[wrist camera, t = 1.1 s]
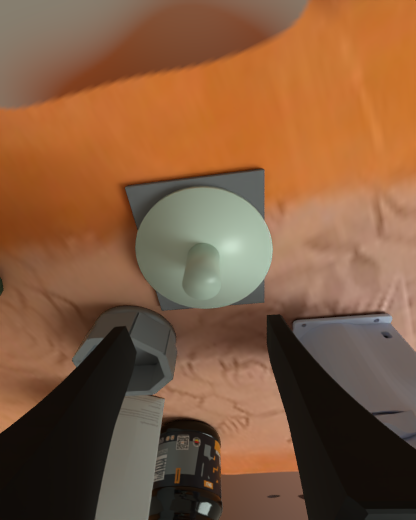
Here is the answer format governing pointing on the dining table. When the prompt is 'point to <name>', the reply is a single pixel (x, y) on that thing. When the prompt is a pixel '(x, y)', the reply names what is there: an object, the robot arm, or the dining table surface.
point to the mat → (237, 182)
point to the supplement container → (187, 473)
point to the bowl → (138, 346)
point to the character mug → (1, 286)
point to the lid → (204, 247)
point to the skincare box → (131, 460)
